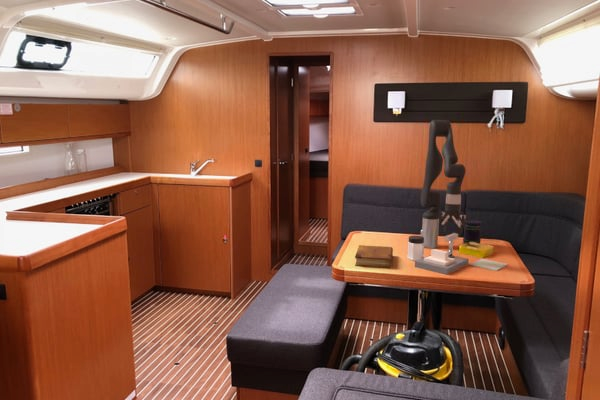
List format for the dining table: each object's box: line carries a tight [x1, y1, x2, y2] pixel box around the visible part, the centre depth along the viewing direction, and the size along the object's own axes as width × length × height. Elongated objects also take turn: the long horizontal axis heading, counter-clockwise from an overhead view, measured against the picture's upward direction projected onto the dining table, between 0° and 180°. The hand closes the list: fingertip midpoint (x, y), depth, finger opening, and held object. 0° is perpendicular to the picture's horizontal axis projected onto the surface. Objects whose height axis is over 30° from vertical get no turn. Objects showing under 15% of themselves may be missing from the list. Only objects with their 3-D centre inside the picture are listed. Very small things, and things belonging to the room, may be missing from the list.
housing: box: [414, 254, 470, 276], centre depth 250 cm, size 18×23×3 cm
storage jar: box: [462, 219, 482, 245], centre depth 288 cm, size 10×10×15 cm
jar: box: [406, 235, 425, 262], centre depth 262 cm, size 9×8×12 cm
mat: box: [469, 258, 508, 272], centre depth 251 cm, size 14×14×1 cm
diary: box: [354, 244, 394, 269], centre depth 259 cm, size 23×19×6 cm
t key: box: [444, 232, 459, 256], centre depth 254 cm, size 2×14×11 cm, turn 136°
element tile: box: [458, 242, 494, 259], centre depth 274 cm, size 15×15×5 cm
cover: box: [424, 248, 455, 266], centre depth 247 cm, size 12×10×6 cm
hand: (451, 232), depth 254 cm, fingers open, 8 cm apart
